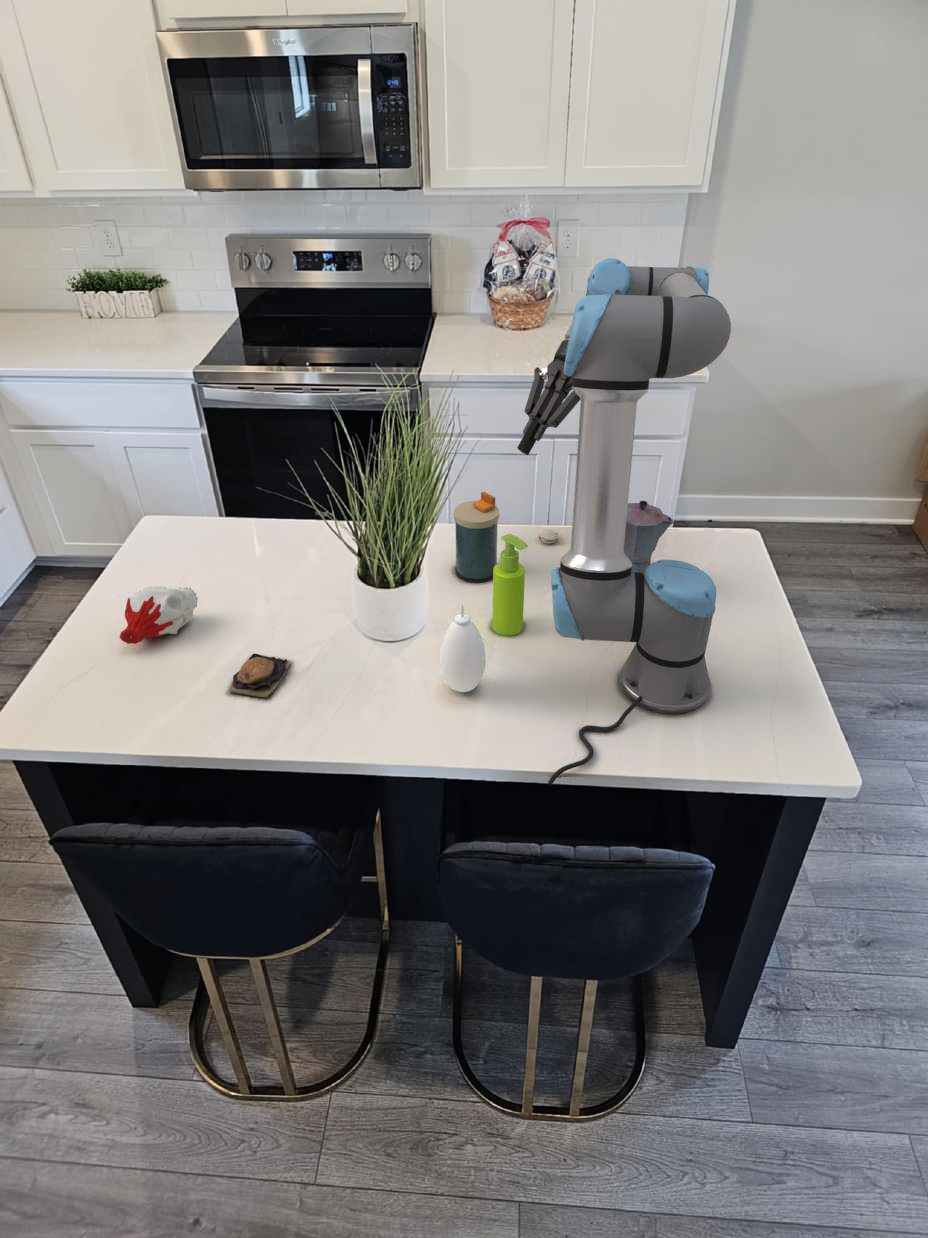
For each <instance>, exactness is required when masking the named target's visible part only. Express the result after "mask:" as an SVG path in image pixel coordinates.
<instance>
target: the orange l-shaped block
mask: <svg viewBox="0 0 928 1238" xmlns="http://www.w3.org/2000/svg"><path fill="white" fill-rule="evenodd" d="M474 501H475V502H473V506H474V507H476V508H478V509H480V510H481V511H483V512H486V511H488V510H490V509H493V508H495V506H496V497H495V496H493V495H491V494H489V493H487V492H486V491H481V492H480V499H478V500H474Z"/></svg>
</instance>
